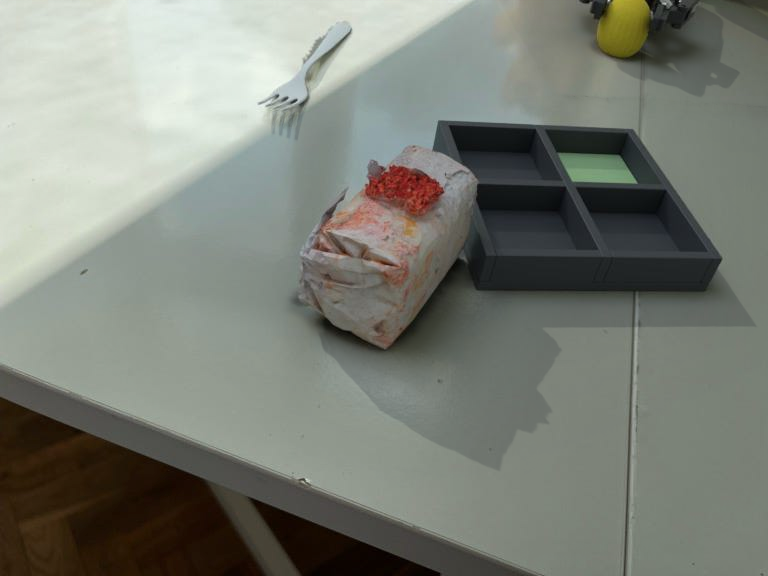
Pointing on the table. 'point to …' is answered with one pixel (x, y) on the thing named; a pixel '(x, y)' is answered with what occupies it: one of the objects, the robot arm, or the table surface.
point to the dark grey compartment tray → (574, 211)
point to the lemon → (624, 27)
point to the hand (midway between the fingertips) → (626, 18)
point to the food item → (388, 244)
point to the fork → (297, 85)
